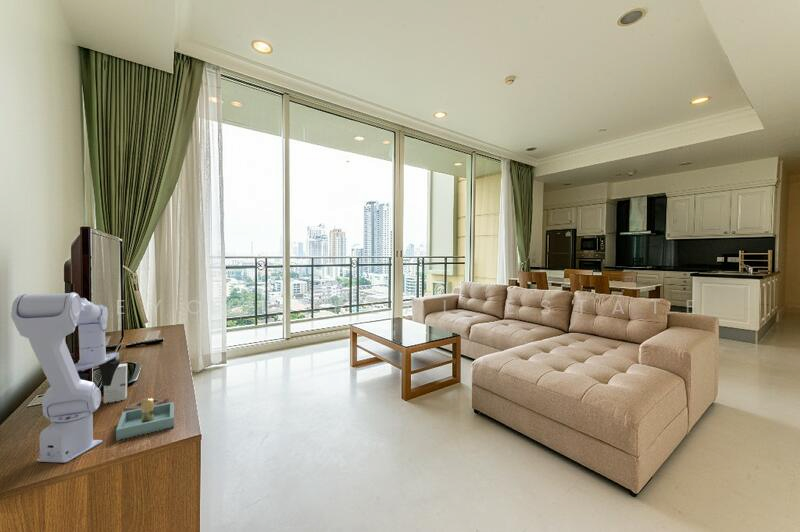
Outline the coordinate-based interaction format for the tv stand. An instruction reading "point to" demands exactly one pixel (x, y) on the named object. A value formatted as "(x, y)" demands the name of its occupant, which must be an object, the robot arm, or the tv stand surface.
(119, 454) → the tv stand surface
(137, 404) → the collar
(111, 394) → the skincare box
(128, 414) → the tray
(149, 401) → the pin
